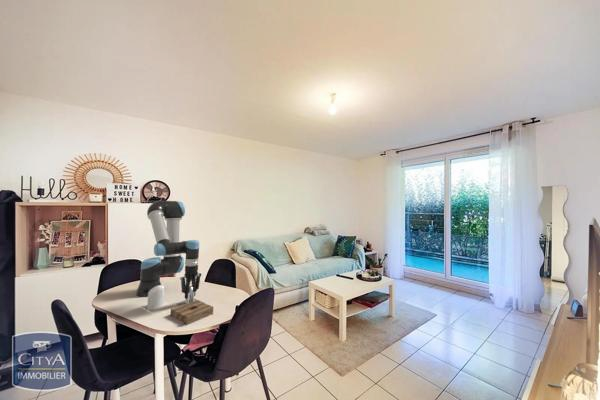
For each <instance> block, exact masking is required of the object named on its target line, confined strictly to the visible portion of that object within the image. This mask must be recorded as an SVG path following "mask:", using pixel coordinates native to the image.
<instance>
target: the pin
mask: <svg viewBox="0 0 600 400" xmlns="http://www.w3.org/2000/svg"><path fill="white" fill-rule="evenodd" d="M188 293H190V295H189V302H192V300H193V286H192V285H190V286H189V292H188Z"/></svg>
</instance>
